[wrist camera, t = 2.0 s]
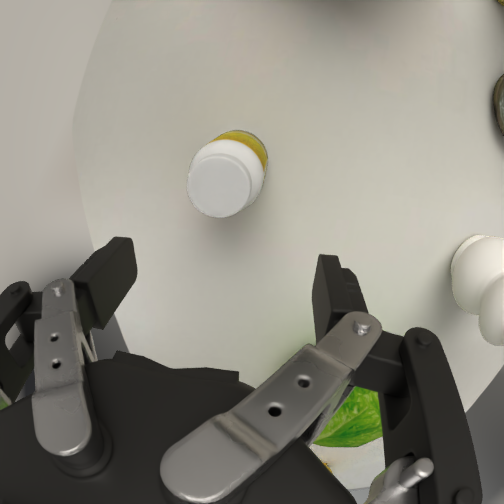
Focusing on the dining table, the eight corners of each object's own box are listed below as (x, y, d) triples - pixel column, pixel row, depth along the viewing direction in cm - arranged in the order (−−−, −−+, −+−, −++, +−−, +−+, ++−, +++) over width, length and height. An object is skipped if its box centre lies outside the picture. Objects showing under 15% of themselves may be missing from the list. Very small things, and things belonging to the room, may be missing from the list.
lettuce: (242, 369, 46) (270, 459, 40) (299, 349, 29) (339, 485, 23) (326, 344, 53) (350, 423, 47) (401, 313, 36) (432, 419, 30)
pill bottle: (208, 130, 29) (172, 146, 19) (268, 129, 28) (261, 144, 19) (211, 185, 32) (180, 227, 22) (267, 186, 32) (261, 229, 22)
